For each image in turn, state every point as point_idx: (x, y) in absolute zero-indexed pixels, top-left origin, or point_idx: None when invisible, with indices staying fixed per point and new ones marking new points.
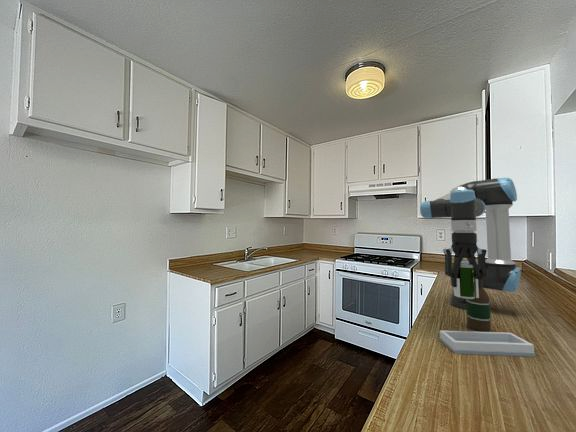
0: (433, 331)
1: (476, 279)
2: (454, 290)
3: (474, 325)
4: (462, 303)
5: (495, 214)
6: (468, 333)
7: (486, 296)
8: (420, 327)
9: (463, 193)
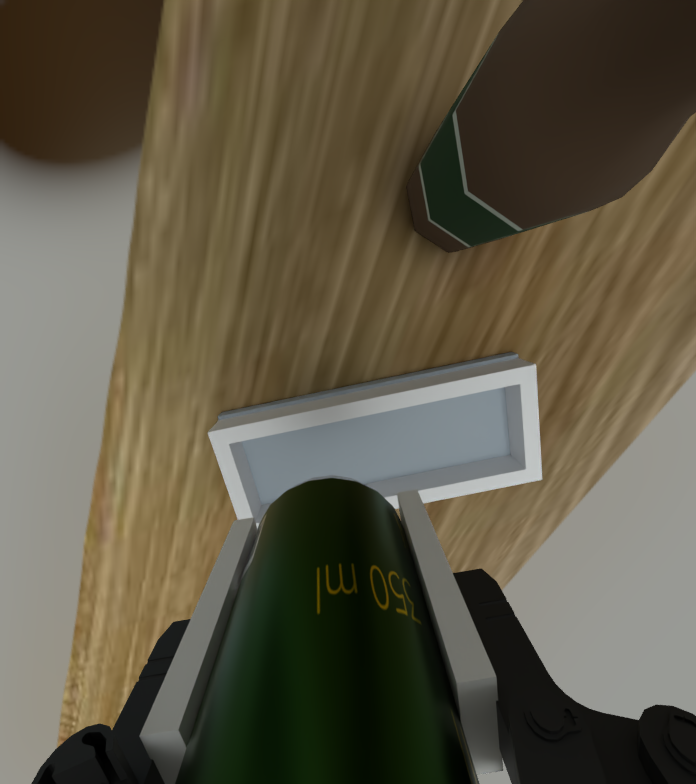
0: (209, 317)
1: (477, 768)
2: (222, 564)
3: (427, 232)
4: None
5: None
6: (335, 421)
7: (634, 184)
8: (148, 276)
9: None
